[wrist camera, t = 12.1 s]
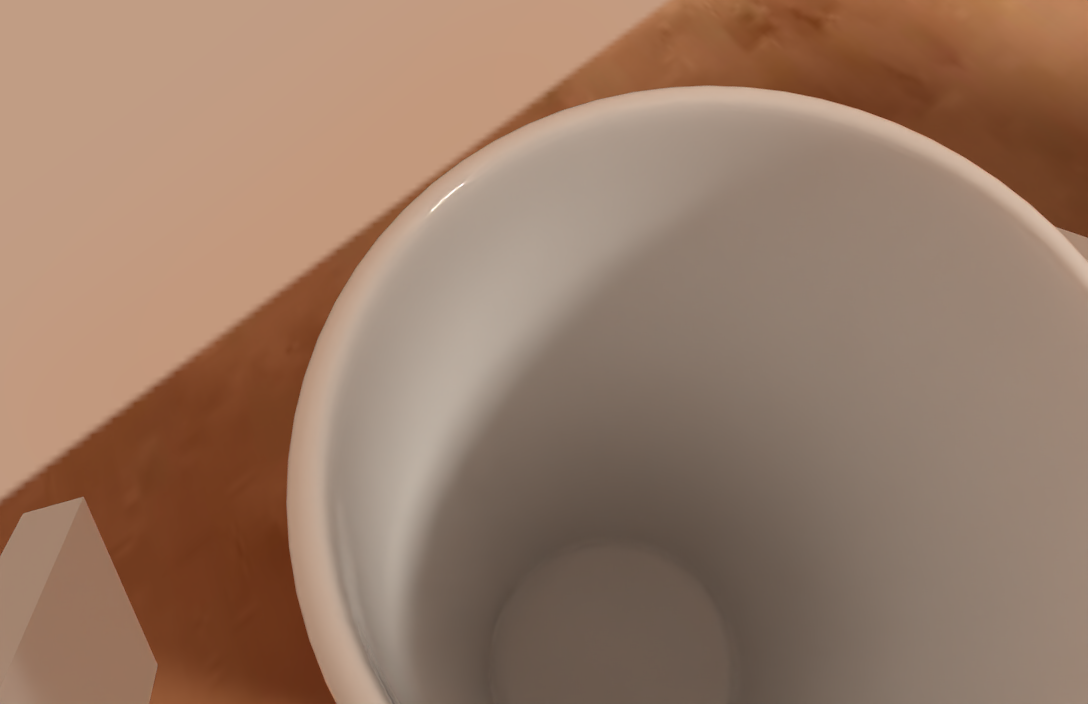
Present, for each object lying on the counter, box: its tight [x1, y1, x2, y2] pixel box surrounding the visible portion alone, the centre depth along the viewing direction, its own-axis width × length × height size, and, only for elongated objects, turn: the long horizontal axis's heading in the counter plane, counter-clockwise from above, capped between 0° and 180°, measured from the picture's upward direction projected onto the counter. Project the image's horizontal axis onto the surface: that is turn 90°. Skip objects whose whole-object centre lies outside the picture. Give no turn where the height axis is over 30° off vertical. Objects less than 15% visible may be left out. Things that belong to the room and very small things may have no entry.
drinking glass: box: [286, 86, 1088, 704], centre depth 14 cm, size 7×7×15 cm
